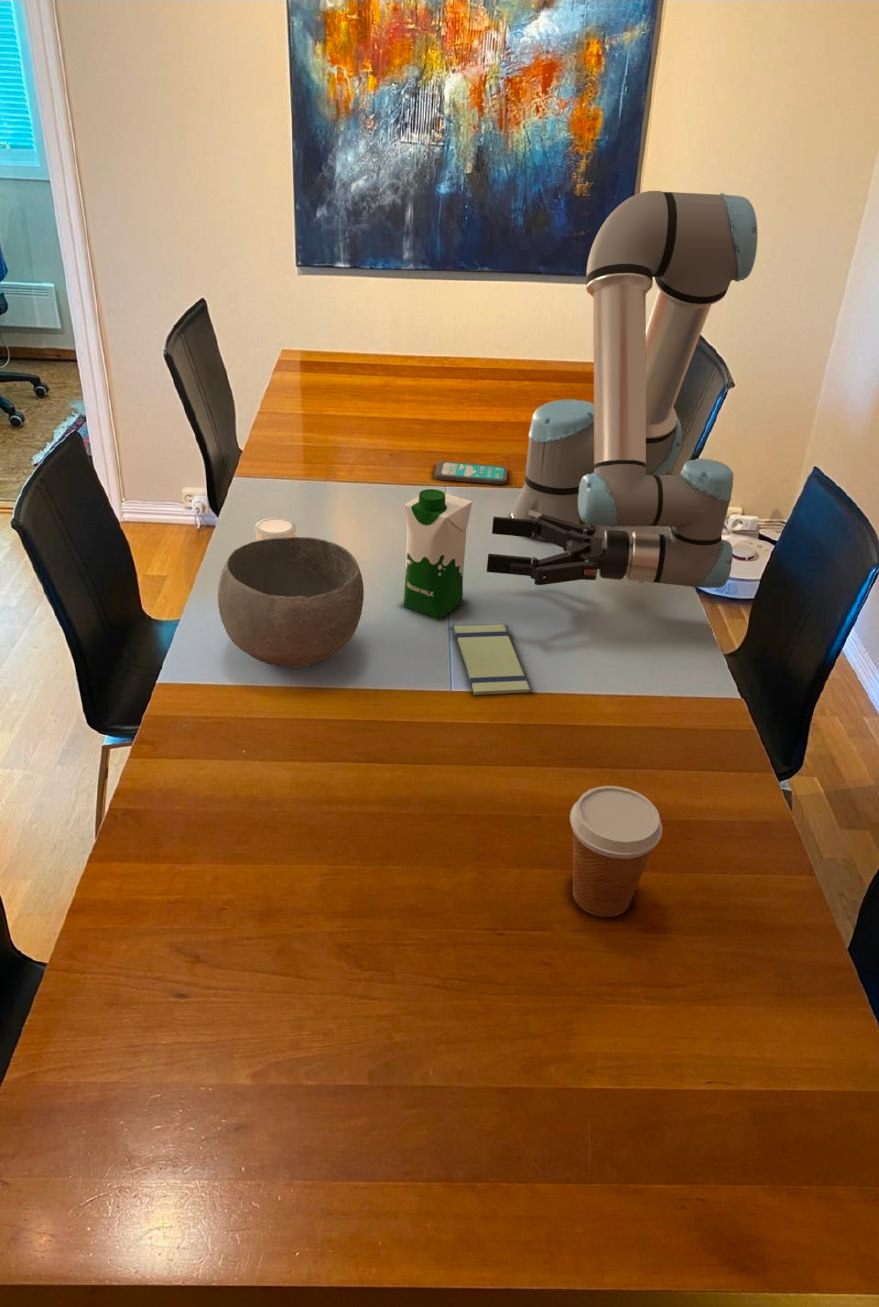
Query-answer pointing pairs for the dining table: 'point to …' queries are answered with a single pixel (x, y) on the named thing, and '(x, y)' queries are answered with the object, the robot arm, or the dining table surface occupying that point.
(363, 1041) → the dining table surface
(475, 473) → the smartphone
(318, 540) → the bowl
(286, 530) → the beige tapered cylinder
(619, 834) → the disposable coffee cup
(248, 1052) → the dining table surface
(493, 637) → the tea towel
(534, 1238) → the dining table surface
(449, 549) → the milk carton
